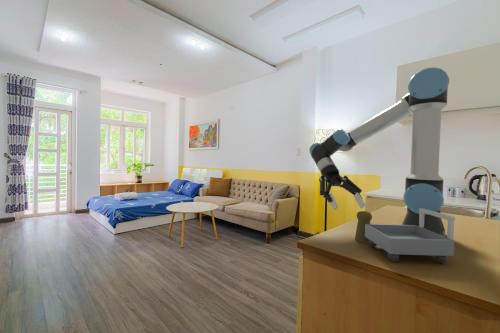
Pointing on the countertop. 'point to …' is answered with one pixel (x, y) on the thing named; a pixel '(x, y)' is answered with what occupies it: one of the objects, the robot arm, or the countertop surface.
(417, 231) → the cart
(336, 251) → the countertop surface
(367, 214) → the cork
